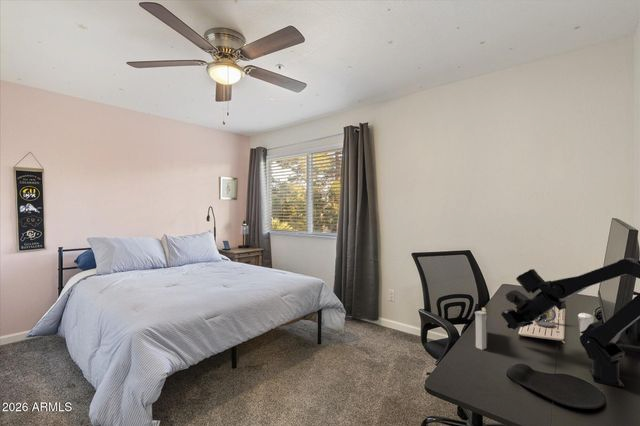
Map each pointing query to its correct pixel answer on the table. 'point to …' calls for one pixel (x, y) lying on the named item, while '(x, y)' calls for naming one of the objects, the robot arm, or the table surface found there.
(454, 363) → the table surface
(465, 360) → the table surface
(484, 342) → the gate post
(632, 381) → the table surface
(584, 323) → the milkshake
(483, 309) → the gate
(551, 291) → the robot arm
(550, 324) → the pocket watch
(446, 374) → the table surface
